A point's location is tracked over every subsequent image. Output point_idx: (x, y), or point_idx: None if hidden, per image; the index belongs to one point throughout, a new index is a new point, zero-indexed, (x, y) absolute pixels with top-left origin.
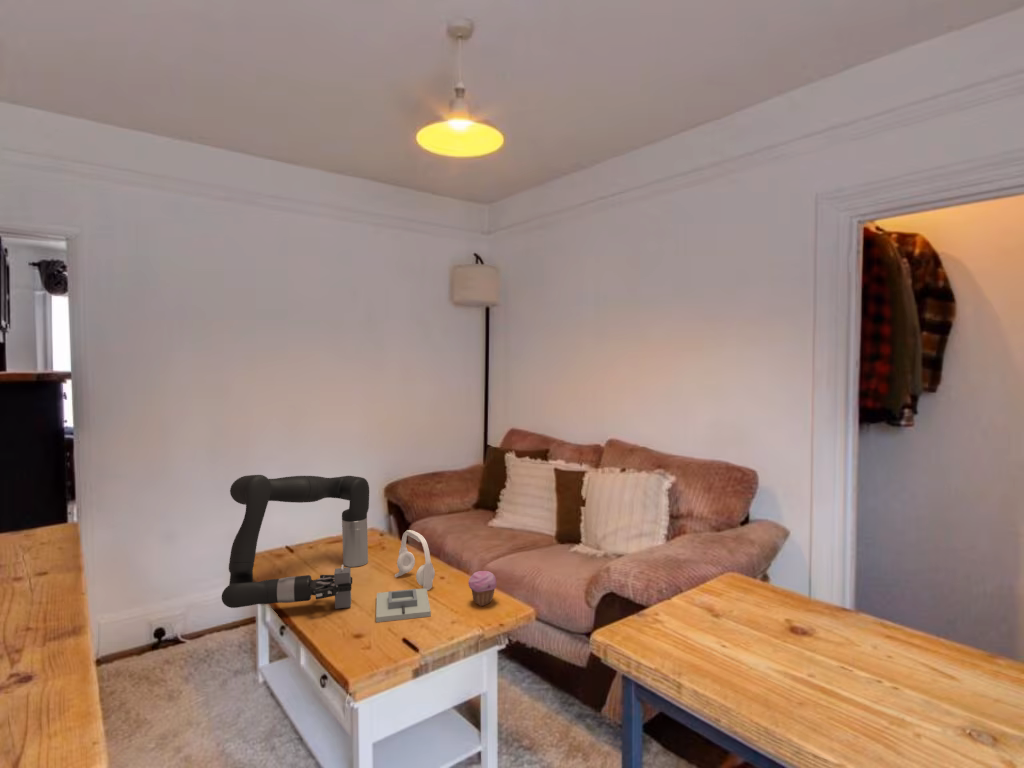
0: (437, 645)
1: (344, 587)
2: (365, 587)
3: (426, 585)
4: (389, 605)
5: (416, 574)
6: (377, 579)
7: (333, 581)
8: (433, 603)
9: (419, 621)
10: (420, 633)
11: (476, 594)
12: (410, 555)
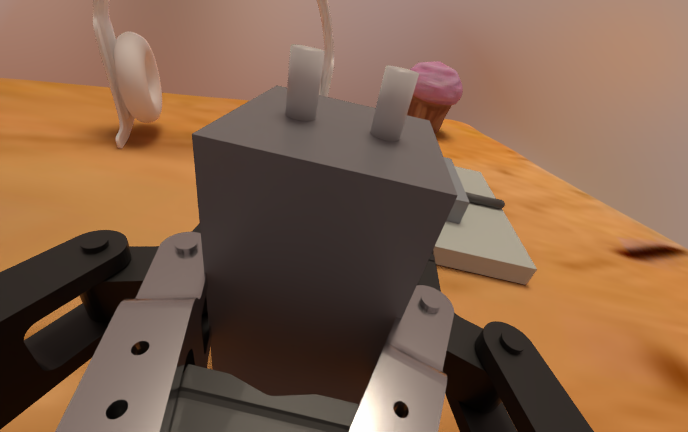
0: (628, 217)
1: (432, 266)
2: None
3: None
4: (465, 210)
5: None
6: (64, 179)
7: (69, 330)
8: None
9: (505, 204)
10: (577, 221)
11: (442, 112)
12: (150, 50)
